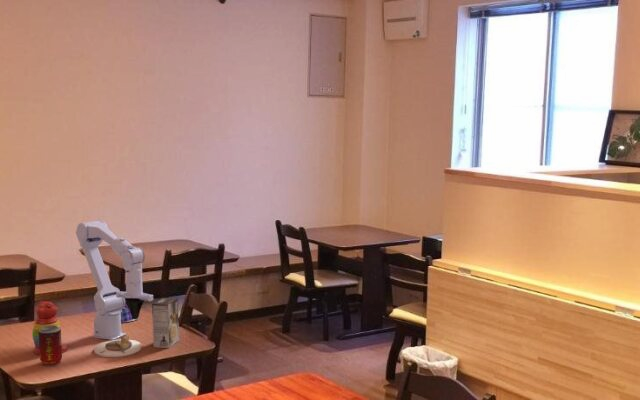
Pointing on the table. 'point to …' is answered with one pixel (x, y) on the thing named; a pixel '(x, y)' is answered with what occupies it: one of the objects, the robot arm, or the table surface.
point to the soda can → (50, 345)
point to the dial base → (104, 352)
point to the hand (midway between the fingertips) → (135, 318)
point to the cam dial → (119, 344)
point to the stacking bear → (45, 321)
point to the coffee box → (165, 322)
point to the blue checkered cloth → (126, 315)
